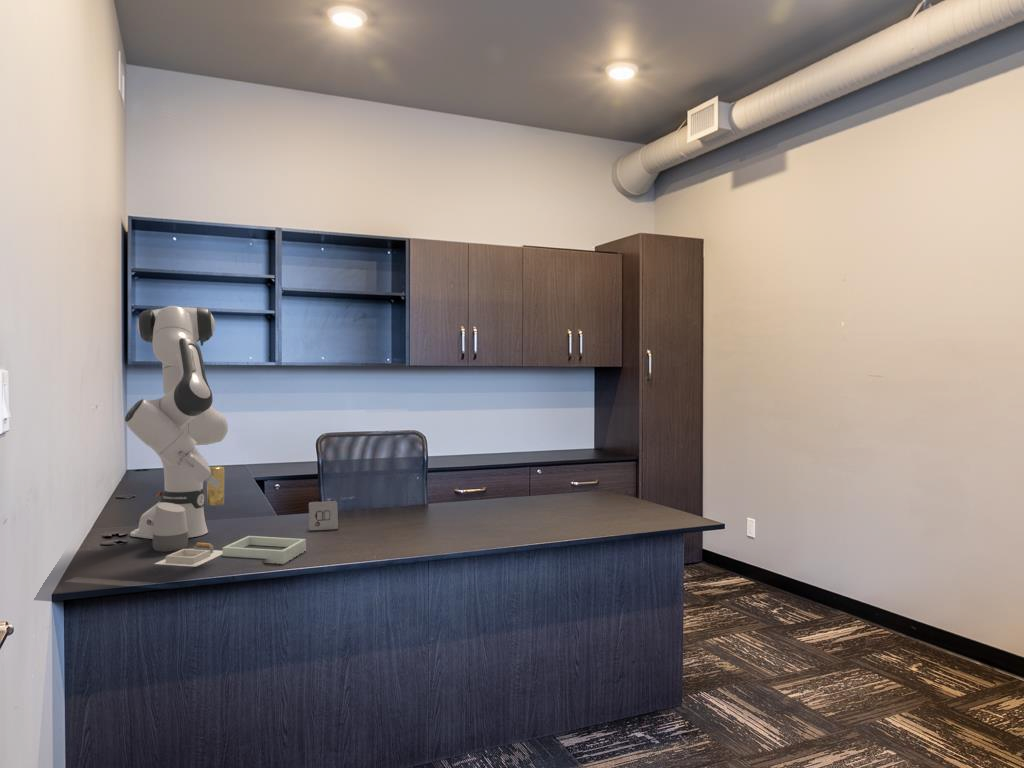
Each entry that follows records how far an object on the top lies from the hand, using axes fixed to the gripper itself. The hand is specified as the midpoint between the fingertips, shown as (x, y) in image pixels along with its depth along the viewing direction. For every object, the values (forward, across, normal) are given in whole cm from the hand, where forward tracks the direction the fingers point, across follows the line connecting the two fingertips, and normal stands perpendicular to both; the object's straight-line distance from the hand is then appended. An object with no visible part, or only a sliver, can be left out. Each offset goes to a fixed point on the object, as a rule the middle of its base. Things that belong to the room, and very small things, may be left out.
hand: (218, 484), depth 196 cm
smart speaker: (+7, +15, +23) cm, 28 cm away
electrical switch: (+39, +28, -9) cm, 49 cm away
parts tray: (+24, 0, +6) cm, 25 cm away
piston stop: (+3, 0, +4) cm, 5 cm away
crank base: (+11, +1, +19) cm, 22 cm away
